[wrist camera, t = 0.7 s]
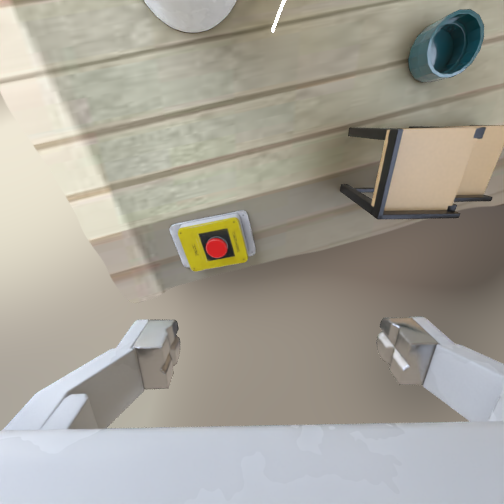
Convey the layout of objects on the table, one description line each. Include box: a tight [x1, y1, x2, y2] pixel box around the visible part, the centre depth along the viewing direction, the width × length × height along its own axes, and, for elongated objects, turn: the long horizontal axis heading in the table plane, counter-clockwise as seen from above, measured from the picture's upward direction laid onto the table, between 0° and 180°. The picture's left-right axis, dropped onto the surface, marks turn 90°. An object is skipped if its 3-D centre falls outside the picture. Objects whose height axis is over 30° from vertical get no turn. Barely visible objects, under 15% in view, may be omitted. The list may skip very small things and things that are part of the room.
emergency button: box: [170, 211, 256, 271], centre depth 46 cm, size 9×4×15 cm
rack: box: [340, 125, 504, 219], centre depth 34 cm, size 10×20×15 cm, turn 91°
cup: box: [408, 9, 484, 82], centre depth 32 cm, size 7×7×5 cm
